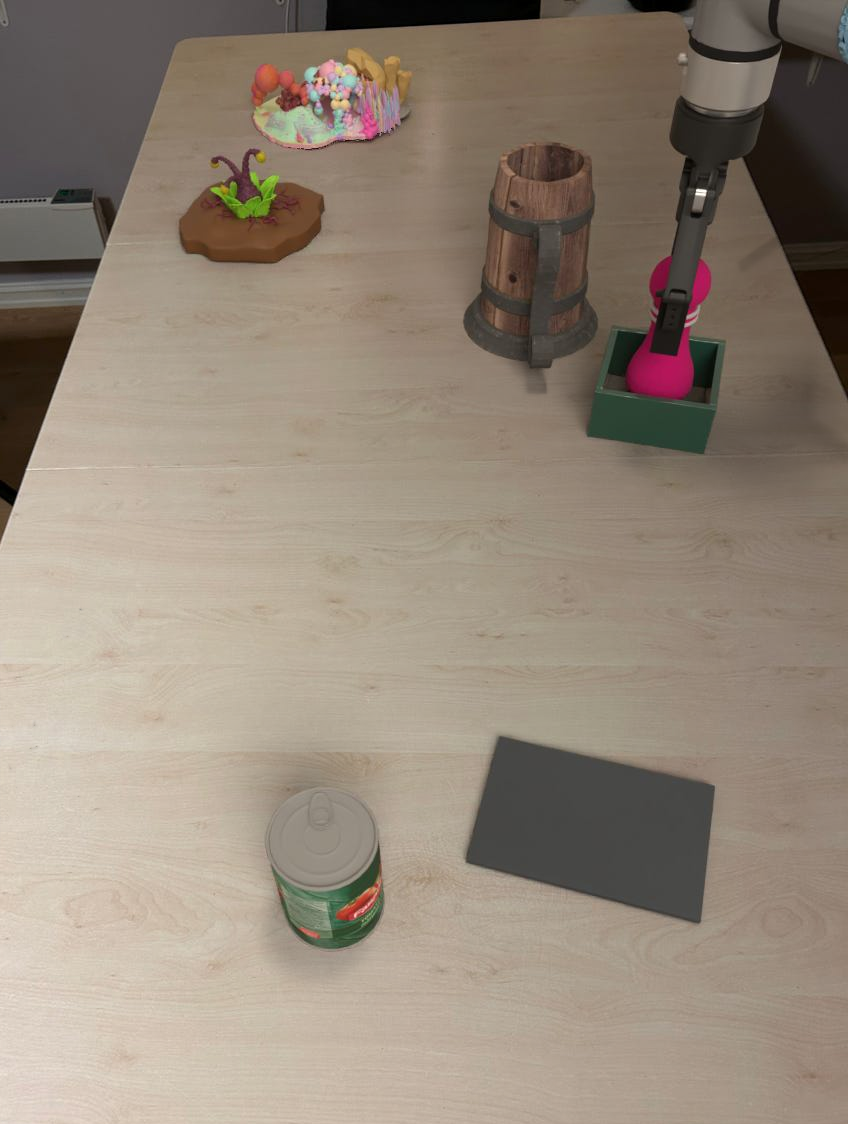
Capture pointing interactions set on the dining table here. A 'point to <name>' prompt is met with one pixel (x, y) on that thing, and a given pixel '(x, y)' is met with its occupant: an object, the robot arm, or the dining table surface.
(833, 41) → the robot arm
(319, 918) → the canned tomato
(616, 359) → the holder
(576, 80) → the dining table surface
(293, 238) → the plant
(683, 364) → the pepper mill
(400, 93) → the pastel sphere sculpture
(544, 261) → the tankard
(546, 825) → the mat
